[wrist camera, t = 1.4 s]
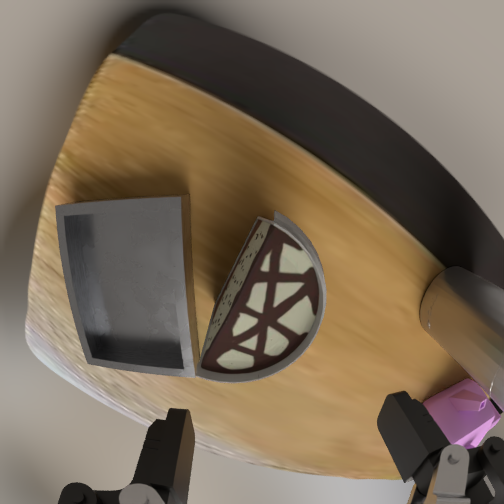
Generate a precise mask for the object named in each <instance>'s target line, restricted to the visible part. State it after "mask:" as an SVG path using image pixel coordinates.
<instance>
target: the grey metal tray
mask: <svg viewBox="0 0 504 504" xmlns="http://www.w3.org/2000/svg"><path fill="white" fill-rule="evenodd" d="M55 209H56V221H57V231H58V240H59V248H60V255H61V261H62V267H63V273H64V278H65V283H66V288H67V293H68V298H69V302H70V306H71V310H72V314H73V318H74V322H75V325H76V329H77V332H78V336H79V339H80V342H81V346H82V349H83V352H84V355H85V358H86V361H87V363H88V364H91V365H96V366H102V367H107V368H113V369H119V370H126V371H133V372H140V373H148V374H157V375H167V376H179V377H193V378H196V368H197V363H198V362H199V360H200V352H199V342H198V332H197V321H196V310H195V297H194V283H193V266H192V247H191V220H190V194H189V195H162V196H143V197H127V198H113V199H101V200H90V201H79V202H72V203H67V204H62V205H57V206H55Z"/></svg>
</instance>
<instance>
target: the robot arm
mask: <svg viewBox="0 0 504 504" xmlns="http://www.w3.org/2000/svg"><path fill="white" fill-rule="evenodd" d="M420 321H421V325H422V327H423V328H424V330H425V331H426V332H428V333H429V334H430V335H431V336H432V337H433V338H434V339H435V340H436V341H437V342H438V343H439V344H440V345H441V346H442V347H443V348H444V349H445V350H446V351H447V352H448V353H449V354H450V355H451V356H452V357H453V358H454V359H455V360H456V361H457V362H458V363H459V364H460V365H461V366H462V367H463V368H464V369H465V370H466V371H467V373H468V374H469V375H470V376H471V377H472V378H473V379H474V380H475V381H476V382H477V383H478V384H479V385H480V386H481V387H482V388H483V389H484V391H485V392H486V393H487V394H488V395H489V396H490V397H491V398H492V399H493V400H494V401H495V402H496V404H497V405H498V406H499V407H500V408H501V409H502V410H503V411H504V290H503V289H501V288H500V287H498V286H496V285H494V284H492V283H491V282H489V281H487V280H485V279H483V278H481V277H480V276H478V275H476V274H474V273H472V272H470V271H468V270H466V269H464V268H462V267H459V266H453V267H450V268H447V269H445V270H444V271H442V272H441V273H440V274H439V275H438V276H437V277H436V278H435V279H434V280H433V281H432V283H431V284H430V286H429V287H428V289H427V291H426V293H425V295H424V297H423V301H422V304H421V309H420ZM377 426H378V430H379V432H380V434H381V436H382V438H383V440H384V442H385V444H386V446H387V448H388V450H389V452H390V454H391V456H392V458H393V460H394V462H395V464H396V466H397V469H398V471H399V473H400V475H401V477H402V479H403V481H404V483H406V482H409V481H411V480H414V481H415V484H414V486H413V488H412V491H411V494H410V497H409V500H408V503H407V504H504V441H503V440H502V439H501V438H499V437H495V436H494V437H490V438H488V439H487V440H486V441H485V442H484V443H483V445H482V446H480V447H475V448H470V449H466V448H465V447H463V446H461V445H458V444H451V443H450V442H449V440H448V439H447V437H446V436H445V434H444V433H443V432H442V430H441V429H440V427H439V426H438V424H437V423H436V421H434V419H433V417H432V416H431V414H429V412H428V410H427V409H426V407H425V406H424V405H423V404H422V403H420V402H419V401H417V400H416V399H413V400H412V399H411V397H410V396H409V394H408V393H407V392H406V391H400V392H396V393H392V394H389V395H387V397H386V399H385V402H384V404H383V406H382V409H381V411H380V413H379V416H378V419H377ZM145 439H146V440H145V441H144V444H143V449H142V451H141V454H140V457H139V461H138V464H137V467H136V471H135V474H134V477H133V480H132V482H131V483H130V484H129V485H128V486H126V487H125V488H123V489H121V490H116V491H97V490H92V489H91V488H90V487H89V486H87V485H86V484H83V483H78V482H76V483H70V484H68V485H67V486H65V487H64V489H63V490H62V492H61V495H60V498H59V501H58V504H187V499H188V491H189V483H190V476H191V468H192V461H193V453H194V446H195V433H194V428H193V424H192V419H191V415H190V411H189V410H188V409H176V408H170V409H169V411H168V414H167V418H166V420H160V419H156V420H155V421H154V422H153V424H152V425H151V426H150V427H149V428H148V431H147V434H146V438H145ZM486 475H487V477H488V479H489V480H490V482H491V484H492V486H493V488H494V489H495V497H493V496H492V494H491V492H490V490H489V488H488V487H487V485H486V483H485V481H484V479H483V478H484V477H485V476H486Z"/></svg>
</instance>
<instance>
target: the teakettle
mask: <svg viewBox="0 0 504 504" xmlns="http://www.w3.org/2000/svg"><path fill="white" fill-rule="evenodd" d="M423 405H424V406H425V407H426V409H427V410H428V412H429V414H431V416H432V417H433V419H434V421H436V423H437V424H438V426H439V427H440V429H441V430H442V432H443V433H444V434H445V436H446V437H447V439H448V440H449V442H450V443H451V444H458V445H461V446H463V447H465V448H466V449H470V448H475V447H477V446H478V444H479V443H480V442H481V440H482V438H483V437H484V436H485V434H486V432H487V431H488V430H489V429H491V428H492V427H493V426H495V425H496V424H497V422H498V421H499V419H500V417H501V416H500V414H499V413H498V412H497V410H496V409H495V407H494V406H493V404H492V403H491V402H490V400H488V398H487V396H486V395H485V393H484V392H483V390H482V389H481V388H480V386H479V385H478V384H477V383H476V382H475V381H473V380H471V379H468V378H467V379H465V380H463V381H461V382H459V383H457V384H455V385H453V386H451V387H449V388H447V389H445V390H444V391H442V392H440V393H438V394H436V395H434V396H432V397H430V398H428V399H427V400H425V401H424V403H423Z"/></svg>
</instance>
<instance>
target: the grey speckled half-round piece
mask: <svg viewBox="0 0 504 504" xmlns="http://www.w3.org/2000/svg"><path fill="white" fill-rule="evenodd" d="M325 306H326V285H325V279H324V273H323V268H322V265H321V262H320V259H319V256H318V254H317V252H316V250H315V248H314V246H313V245H312V243H311V241H310V240H309V239H308V237H307V236H306V235H305V234H304V233H303V231H302V230H301V229H300V228H299V227H298V226H297V225H296V224H294V223H293V222H292V221H291V220H290V219H289V218H287V217H286V216H284V215H282V214H281V213H279V212H277V211H276V210H275V212H274V221H271V220H268V219H266V218H263V217H260V216H258V217H257V219H256V221H255V223H254V225H253V227H252V229H251V231H250V233H249V235H248V237H247V239H246V241H245V243H244V245H243V247H242V249H241V251H240V253H239V255H238V257H237V259H236V261H235V263H234V265H233V267H232V269H231V271H230V273H229V275H228V277H227V279H226V281H225V284H224V286H223V288H222V290H221V292H220V294H219V296H218V298H217V300H216V302H215V305H214V308H213V312H212V316H211V319H210V323H209V327H208V331H207V334H206V338H205V342H204V346H203V349H202V353H201V357H200V361H199V362H198V363H197V368H196V377H199V378H202V379H206V380H210V381H215V382H220V383H245V382H251V381H256V380H260V379H263V378H266V377H269V376H272V375H274V374H276V373H278V372H280V371H282V370H284V369H285V368H287V367H288V366H290V365H291V364H292V363H294V362H295V361H296V360H297V359H298V358H299V357H300V356H301V355H303V354H304V352H305V351H306V350H307V349H308V347H309V346H310V345H311V343H312V342H313V340H314V338H315V336H316V335H317V333H318V330H319V328H320V325H321V322H322V319H323V317H324V312H325Z"/></svg>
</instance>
